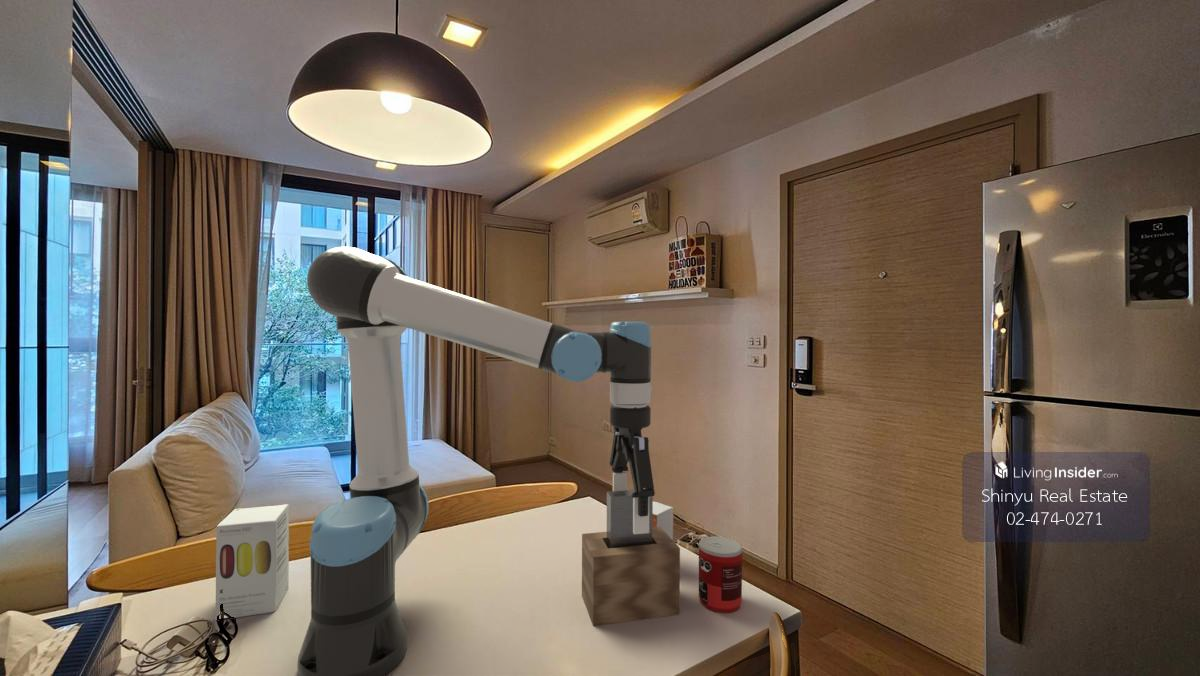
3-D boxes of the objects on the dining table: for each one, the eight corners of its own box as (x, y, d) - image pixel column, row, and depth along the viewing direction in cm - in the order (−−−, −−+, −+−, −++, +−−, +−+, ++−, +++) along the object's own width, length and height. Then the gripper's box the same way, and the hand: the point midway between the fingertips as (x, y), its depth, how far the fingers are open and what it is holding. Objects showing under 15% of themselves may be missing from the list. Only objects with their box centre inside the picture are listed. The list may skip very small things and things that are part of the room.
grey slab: (610, 573, 90) (610, 497, 89) (606, 565, 93) (606, 491, 92) (652, 568, 92) (652, 493, 91) (646, 561, 94) (647, 488, 94)
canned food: (701, 588, 98) (702, 533, 98) (743, 596, 95) (744, 539, 95) (694, 608, 91) (695, 549, 91) (739, 617, 88) (740, 556, 88)
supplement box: (213, 622, 86) (212, 526, 86) (232, 595, 95) (232, 508, 94) (277, 612, 89) (276, 519, 89) (290, 586, 98) (290, 502, 98)
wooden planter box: (593, 625, 85) (593, 557, 85) (581, 595, 95) (582, 533, 95) (679, 614, 89) (679, 548, 89) (660, 586, 99) (660, 526, 99)
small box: (626, 563, 108) (626, 504, 108) (644, 554, 113) (644, 497, 113) (656, 576, 103) (656, 514, 103) (673, 566, 107) (674, 506, 107)
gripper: (674, 415, 80) (673, 544, 81) (630, 395, 105) (629, 494, 105) (630, 416, 79) (629, 549, 79) (595, 396, 103) (595, 497, 103)
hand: (629, 518), depth 92 cm, fingers open, 13 cm apart
